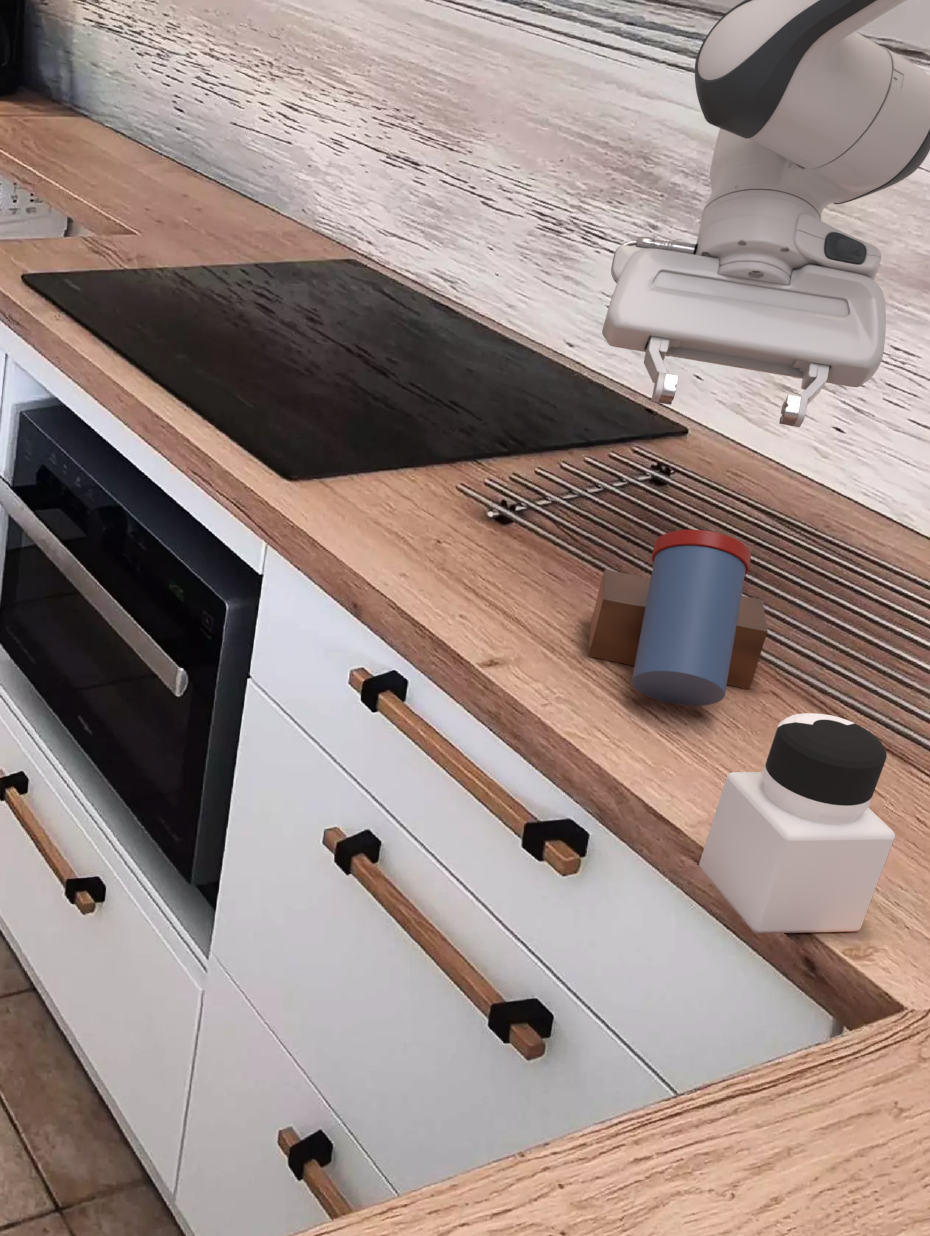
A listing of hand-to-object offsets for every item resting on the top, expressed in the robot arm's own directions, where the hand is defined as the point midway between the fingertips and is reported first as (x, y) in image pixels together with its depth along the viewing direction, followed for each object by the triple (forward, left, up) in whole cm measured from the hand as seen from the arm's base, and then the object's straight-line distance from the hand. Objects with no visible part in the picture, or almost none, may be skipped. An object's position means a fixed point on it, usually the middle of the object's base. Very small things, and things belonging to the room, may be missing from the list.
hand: (726, 411), depth 132 cm
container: (0, +12, -12) cm, 17 cm away
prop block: (0, +5, -18) cm, 19 cm away
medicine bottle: (-6, +38, -19) cm, 43 cm away
